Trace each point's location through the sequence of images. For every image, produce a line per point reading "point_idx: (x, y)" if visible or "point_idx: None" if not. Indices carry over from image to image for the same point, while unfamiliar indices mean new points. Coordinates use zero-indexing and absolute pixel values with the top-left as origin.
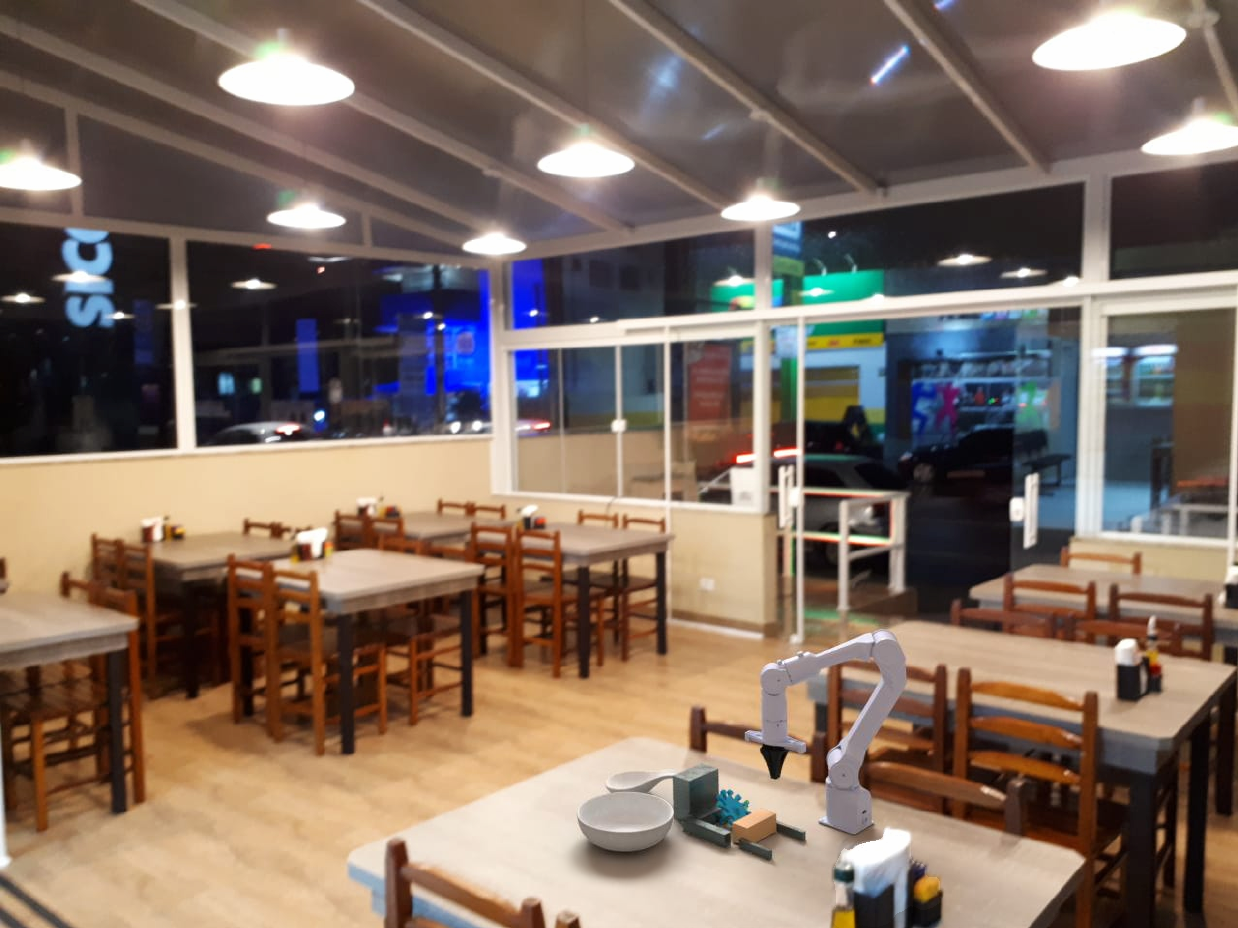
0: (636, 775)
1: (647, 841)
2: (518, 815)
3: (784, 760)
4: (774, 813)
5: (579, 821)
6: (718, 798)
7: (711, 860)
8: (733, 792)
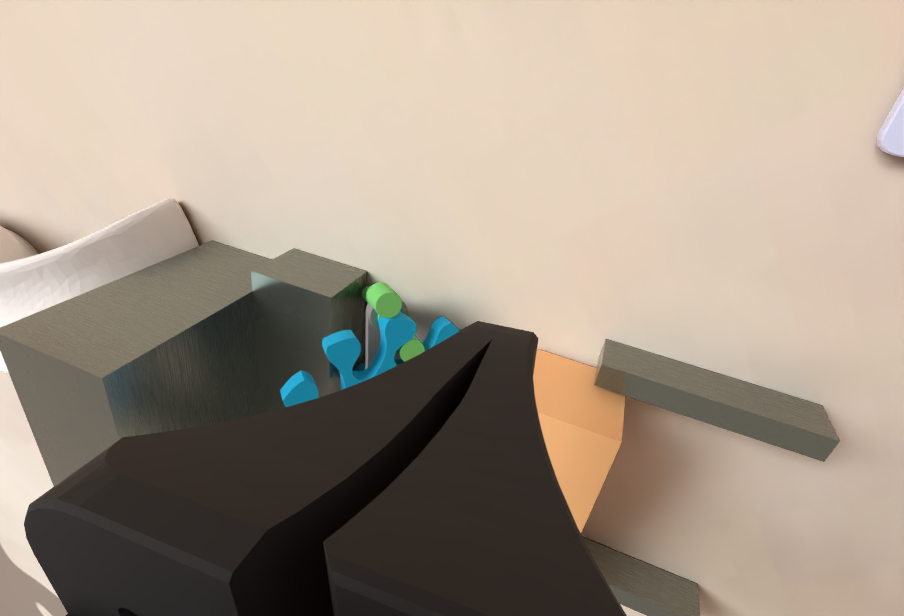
0: None
1: None
2: (20, 475)
3: (545, 444)
4: (612, 444)
5: None
6: None
7: None
8: (310, 382)
